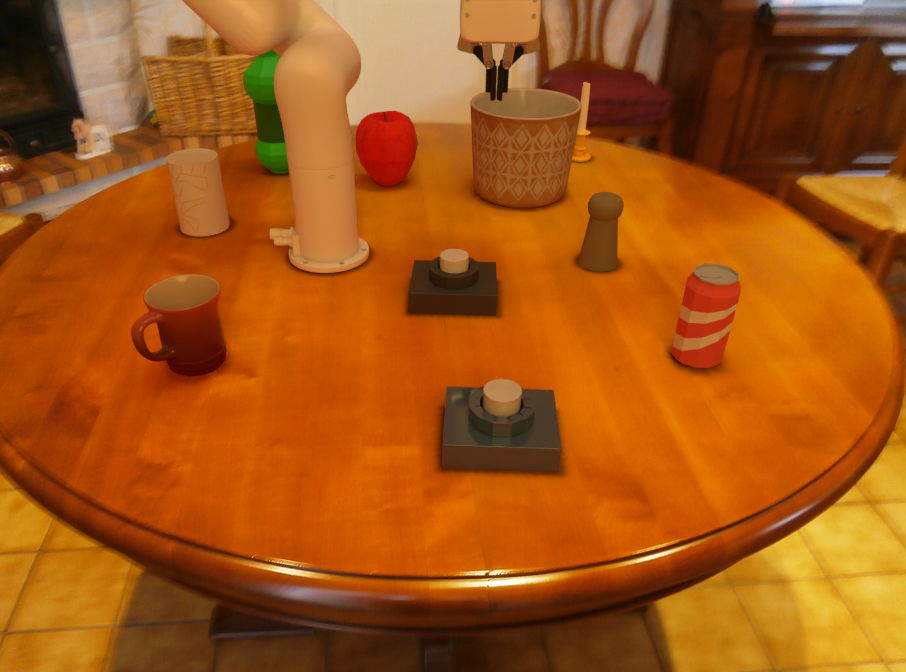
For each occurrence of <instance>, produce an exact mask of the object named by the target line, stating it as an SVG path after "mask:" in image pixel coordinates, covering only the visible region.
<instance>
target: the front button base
mask: <svg viewBox="0 0 906 672" xmlns="http://www.w3.org/2000/svg"><path fill="white" fill-rule="evenodd" d="M484 386H485V385H482V386H478V387H476V386H472V387H471V386H446V389H445V404H444V417H443V418H444V419H443V432H442V453H441V454H442V455H441V456H442V460H441V462H442V464H441V465H442V466H441V467H442V468H443V469H465V470H466V469H467V470H493V471H495V470H496V471H517V472H519V471H520V472H545V473H547V472H549V473H559V471H560V465H561V464H560V463H561V457H562V456H561V455H562V442H561V434H560V425H559V420H558V412H557V403H556V395H555V390H554V389H533V388H522V387H521V389H522V397H521V408H520V410H519V412H518V413H516V414H514V415H511V416H495V415H492V414H490V413H487V412H486V411H485V410H484V408H483V388H484Z"/></svg>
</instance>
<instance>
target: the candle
mask: <svg viewBox="0 0 906 672" xmlns="http://www.w3.org/2000/svg"><path fill="white" fill-rule="evenodd" d="M581 87H582V88H581V94H580V102H581V104H582V108H581V114H580V119H579V124H578V130H577V135H576V141H575V146H574V151H573V157H572V162H573V163H574V162H575V163H586V162H588V161H590V160H591V158H592V155H591V154H590V153H588V152H585V151H586V150H587V149H588V145H586V141H587V139H586V137H587V136H589V135H590V134H591V131H590V130H588V129H587V121H588V114H589V113H588V111H589V103H590V96H591V95H590V94H591V83H590V82H587V81H583V83H582V86H581Z"/></svg>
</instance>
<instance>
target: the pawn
mask: <svg viewBox="0 0 906 672" xmlns="http://www.w3.org/2000/svg"><path fill="white" fill-rule="evenodd" d="M624 207H625V206H624V201H623V198H622V197H621V196H620V194H617V193H615V192H611V191H599V192H595V193H593V194H592V195H591V196H590V198H589V200H588V202H587V212H588V214H589V218H588V222H587V226H586V229H585V233H584V237H583V240H582V244H581V247H580V252H579V255H578V259H577V263H578V265H579V266H580V267H581V268H584V269H586V270H588V271H592V272H598V273H599V272H602V273H604V272H609V271H613V270H614V269H616V268H617V266H618V244H619V243H618V241H619V231H618V230H619V218H620V217H621V215H622V214H623V211H624Z"/></svg>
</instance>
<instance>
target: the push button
mask: <svg viewBox="0 0 906 672" xmlns="http://www.w3.org/2000/svg"><path fill="white" fill-rule="evenodd" d="M439 257H440V270H441V271H444V272H447V273H462V272H466V271H467V270H468V266H469V257H470V255H469V252H468V251H466V250H464V249H461V248H448V249H444V250H442V251H441V252H440V254H439Z"/></svg>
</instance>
